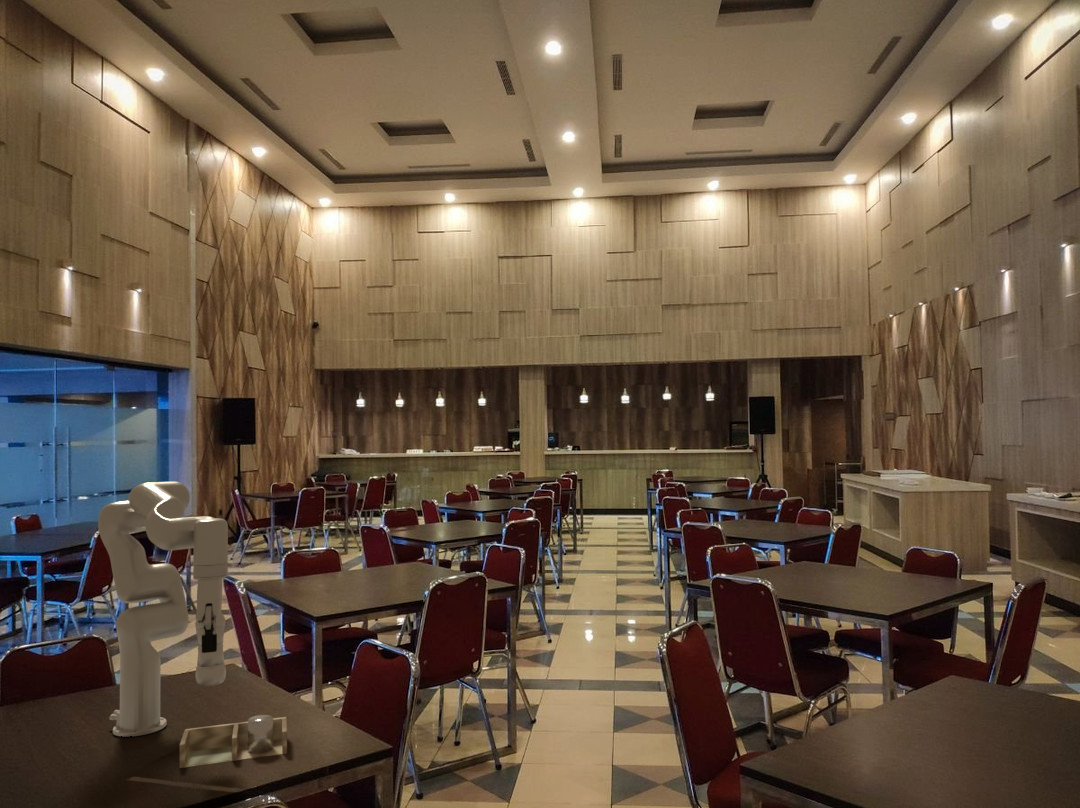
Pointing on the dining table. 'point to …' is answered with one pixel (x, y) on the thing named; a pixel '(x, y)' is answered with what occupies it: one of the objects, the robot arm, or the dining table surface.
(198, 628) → the plastic bottle
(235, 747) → the divider rack
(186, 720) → the dining table surface
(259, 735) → the grey short cylinder
